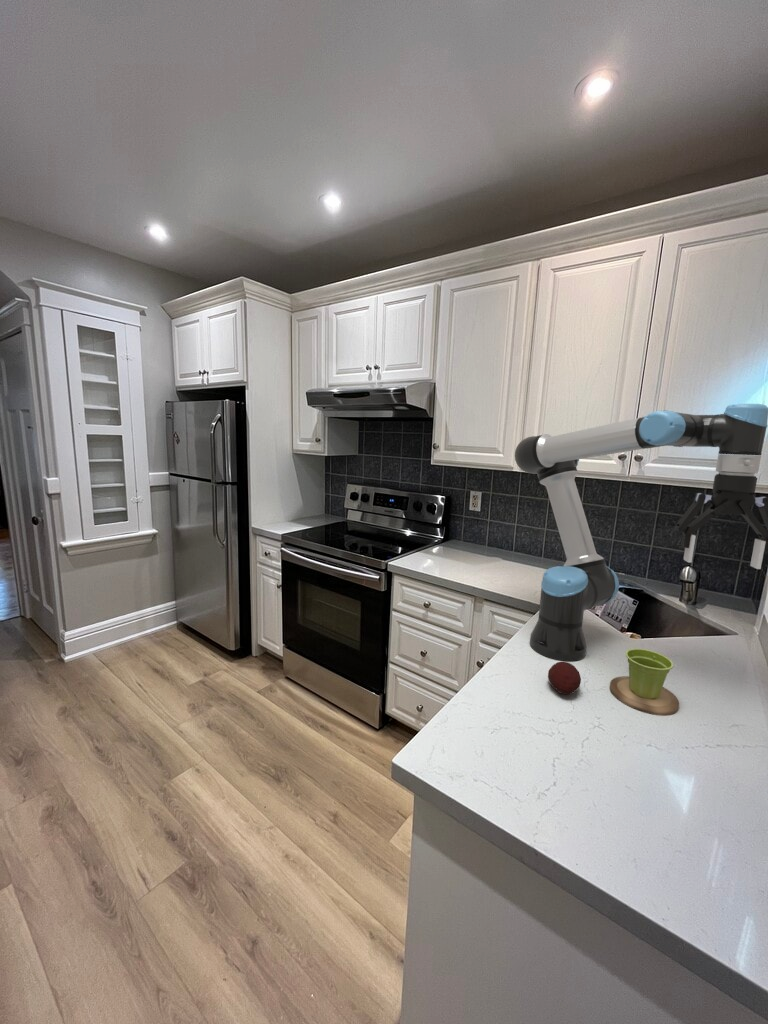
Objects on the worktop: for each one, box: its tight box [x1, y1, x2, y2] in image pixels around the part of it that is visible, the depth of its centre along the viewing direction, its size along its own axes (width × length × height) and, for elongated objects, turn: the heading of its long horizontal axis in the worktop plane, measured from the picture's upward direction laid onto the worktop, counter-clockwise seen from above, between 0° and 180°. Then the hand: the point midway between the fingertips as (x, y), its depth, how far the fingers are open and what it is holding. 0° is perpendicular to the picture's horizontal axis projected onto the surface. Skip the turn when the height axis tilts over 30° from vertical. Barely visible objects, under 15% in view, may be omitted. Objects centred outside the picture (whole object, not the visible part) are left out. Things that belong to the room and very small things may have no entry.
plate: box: [609, 675, 680, 716], centre depth 100 cm, size 14×14×1 cm
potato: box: [547, 661, 582, 695], centre depth 101 cm, size 7×10×6 cm
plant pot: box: [625, 648, 674, 699], centre depth 99 cm, size 9×9×9 cm
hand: (720, 564), depth 99 cm, fingers open, 13 cm apart
